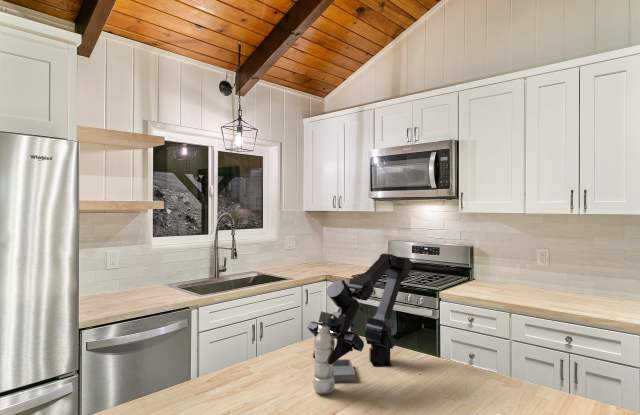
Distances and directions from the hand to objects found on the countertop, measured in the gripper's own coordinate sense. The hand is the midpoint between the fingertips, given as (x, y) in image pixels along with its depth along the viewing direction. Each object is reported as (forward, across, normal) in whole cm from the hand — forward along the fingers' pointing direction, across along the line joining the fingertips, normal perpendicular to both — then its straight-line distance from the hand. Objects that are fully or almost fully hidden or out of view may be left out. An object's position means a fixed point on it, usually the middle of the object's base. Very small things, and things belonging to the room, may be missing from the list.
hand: (321, 361), depth 120 cm
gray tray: (-2, -6, +16) cm, 17 cm away
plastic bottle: (+6, 0, +8) cm, 10 cm away
